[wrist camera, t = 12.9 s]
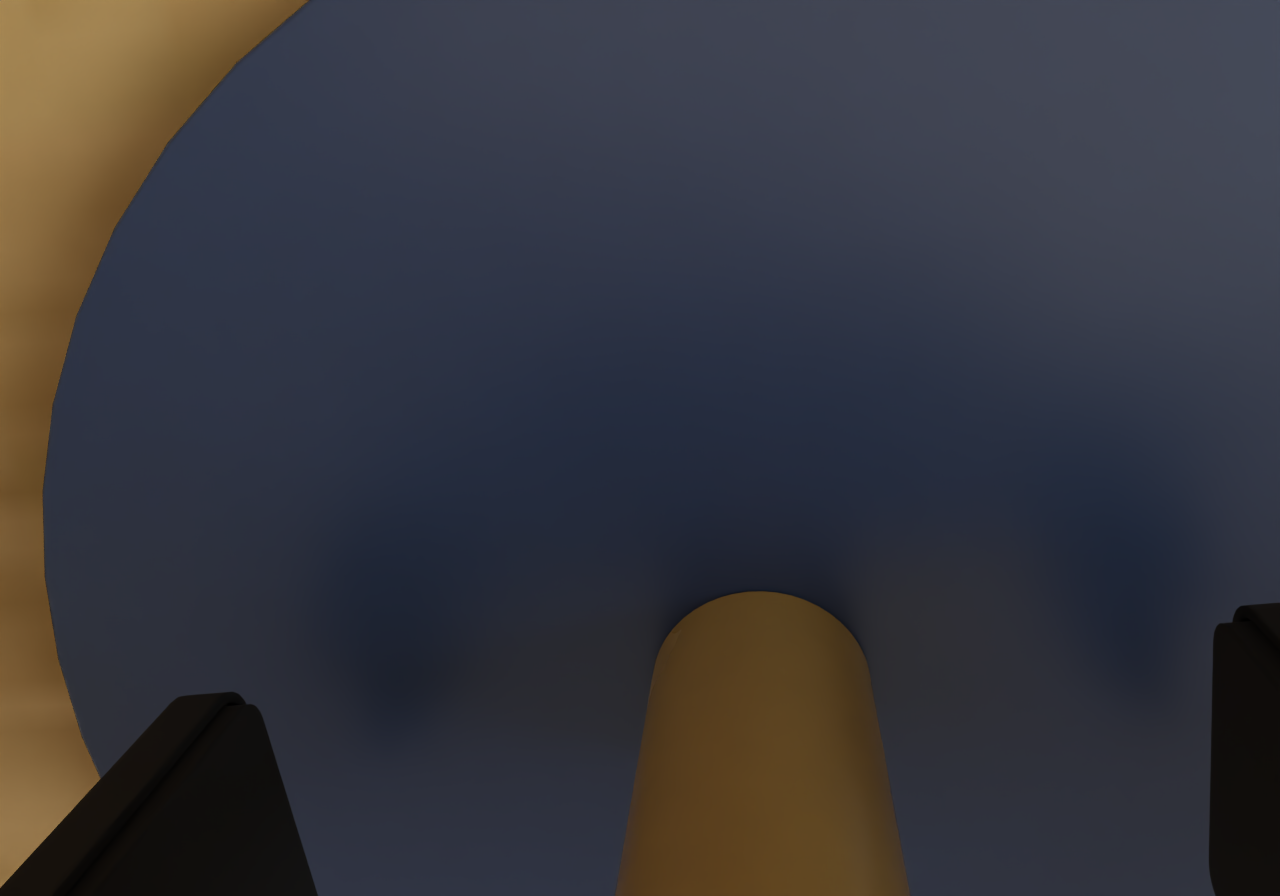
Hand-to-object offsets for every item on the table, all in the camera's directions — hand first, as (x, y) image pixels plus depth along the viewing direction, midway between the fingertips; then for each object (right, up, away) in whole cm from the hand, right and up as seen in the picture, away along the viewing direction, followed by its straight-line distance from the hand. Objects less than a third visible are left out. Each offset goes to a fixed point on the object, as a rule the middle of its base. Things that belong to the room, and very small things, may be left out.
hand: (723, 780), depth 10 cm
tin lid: (+1, +1, +2) cm, 2 cm away
